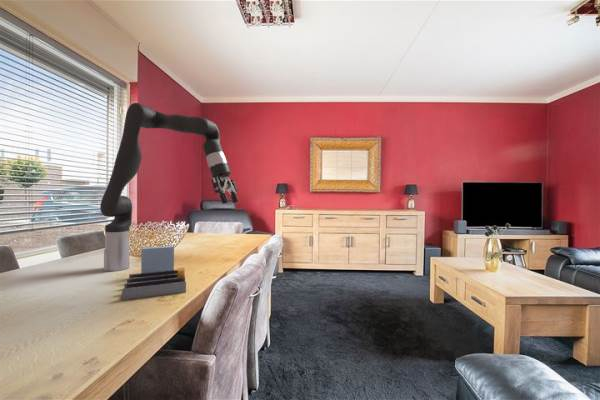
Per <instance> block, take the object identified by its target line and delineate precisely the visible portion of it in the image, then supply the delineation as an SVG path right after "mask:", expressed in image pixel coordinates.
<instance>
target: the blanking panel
mask: <svg viewBox="0 0 600 400" xmlns="http://www.w3.org/2000/svg"><path fill="white" fill-rule="evenodd" d="M140 255H141V257H140V260H141V261H140V266H141V268H140V271H141V272H140V273H148V272H158V271H168V270H175V245H163V246H151V247H150V246H149V247H145V246H144V247H141V254H140Z"/></svg>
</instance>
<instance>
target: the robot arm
mask: <svg viewBox="0 0 600 400" xmlns="http://www.w3.org/2000/svg"><path fill="white" fill-rule="evenodd" d="M141 128H144V129H165V130H171V131H174V132H178V133H179V132H180V133H183V134H190V135H191V134H194V135H198V136H201V137H204V139H205V142H204V143H203V145H202V148H203V152H204V154H205V157H206V163H207V165H208V168H209V172H210V175H211V179H210V181H211V184H212V188H213V190H214V194H218V196H219V197H220V200H221V203H222V205H223V204H224V205H225V204H228V202H229V200H228V197H227V194H226V193H225V192H228V193H229V195H230V198H231V201H232V203H233V204H236V203H239V198H238V196H237V193H238V192H239V190H238V187H237V185H236V182H235V180H234V178H230V177H229V176H230V175H231V173H232V172H231V169H230V167H229V164H228V160H227V157H226V156H225V154H224V150H223V148H222V145H221V136H220V129H219V128H218V126H217V124H216V123H215V122H214V121H212V120H210V119H207V118H205V117H201V116H189V115H185V114H184V115H183V114H176V113H173V114H165V113H162V112H160V111H157V110H155V109H153V108H151V107H149V106H146V105H144V104H141V103H139V102H132V104H130V105H129V106H128V107H127V110H126V115H125V119H124V125H123V131H122V135H121V141H120V144H119V148H118V152H117V154H116V157H115V161H114V165H113V169H112V171H111V175H110V178H109V181H108V184H107V187H106V189H105V191H104V194H103V196H102V199H101V201H100V206H99V208H100V212H101V214H102V215H103V216H104V217H107V218H109V217H110V218H111V217H114V218H113V220H112V221H111V222H110V223H108V224H106V225H105V227H104V241H105V242H104V249H103V272H117V271H124V270H127V269H130V227H131V225H132V219H133V217H132V215H133V203H132V200H131V199H130V197H128V196H127V195H122V193H123V190H124V189H125V187H126V186H127V185H128V184H129V183H130V181H132V179H134V177H135V176H136V175H137V173H138V172H139V170H140V169H139V168H140V165H141V163H142V159H143V156H142V151H141V146H140V143H139V135H140V134H139V133H140V132H141V131H140V130H141Z"/></svg>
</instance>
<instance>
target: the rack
mask: <svg viewBox="0 0 600 400" xmlns="http://www.w3.org/2000/svg"><path fill="white" fill-rule="evenodd" d="M185 271H186V270H185V267H177V269H174V270H168V271H158V272H148V273H141V272H140V273H129V275H128V278H127V279H126V283H125V284H124V288H122V290H121V292H122V293H121V296H122V297H121V298H122V299H121V301H122V302H123V301H128V300H137V299H145V298H153V297H159V296H166V295H175V294H176V295H177V294H182V293H186V292H187V281H186V276H185V274H186V273H185Z"/></svg>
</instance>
